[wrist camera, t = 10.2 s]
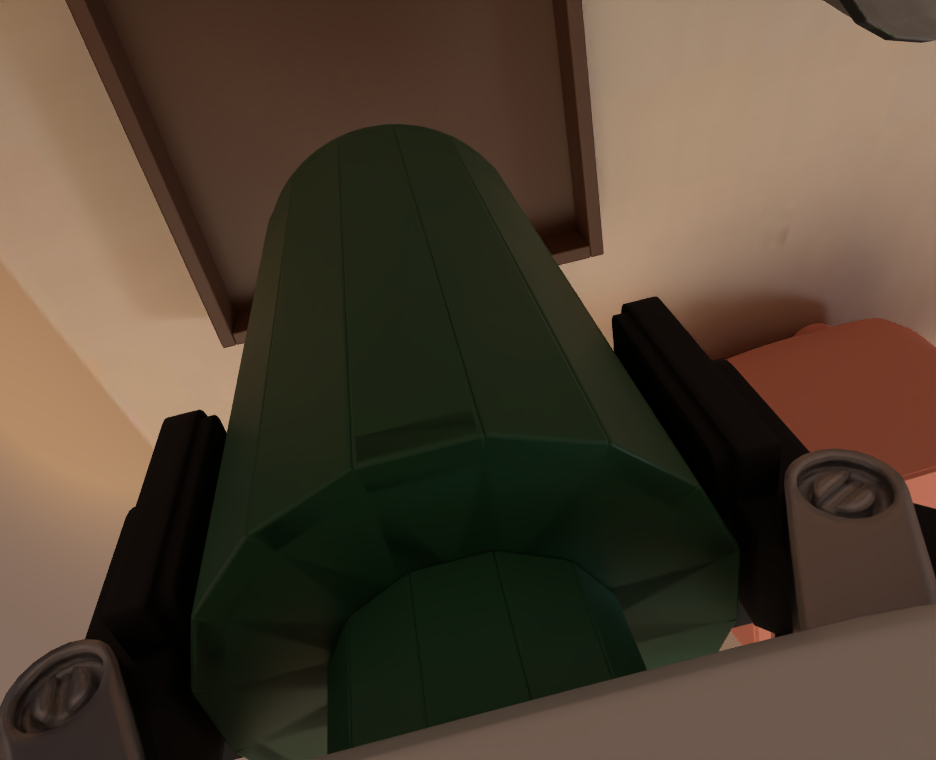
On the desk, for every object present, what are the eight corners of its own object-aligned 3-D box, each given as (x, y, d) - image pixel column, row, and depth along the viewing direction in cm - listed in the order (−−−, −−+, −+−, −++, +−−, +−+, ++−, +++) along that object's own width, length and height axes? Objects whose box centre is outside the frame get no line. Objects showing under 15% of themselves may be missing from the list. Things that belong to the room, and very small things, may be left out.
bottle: (314, 383, 20) (285, 1300, 7) (228, 159, 16) (-188, 1183, 3) (535, 328, 20) (924, 1116, 7) (499, 94, 17) (1160, 810, 3)
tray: (230, 318, 33) (223, 348, 31) (81, -23, 25) (57, -16, 23) (585, 231, 34) (604, 254, 32) (549, -130, 26) (570, -135, 24)
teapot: (955, 255, 38) (1232, 406, 27) (931, 431, 45) (1140, 612, 34) (562, 381, 39) (665, 586, 27) (599, 537, 46) (693, 752, 34)
